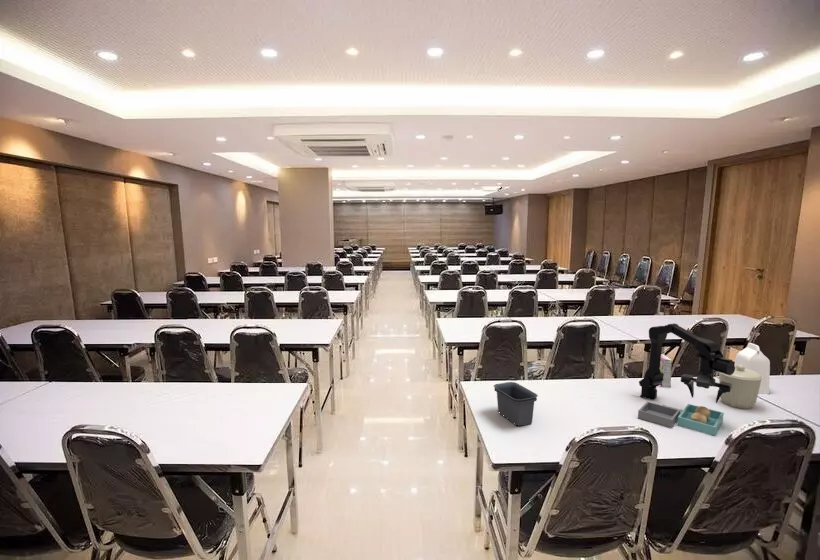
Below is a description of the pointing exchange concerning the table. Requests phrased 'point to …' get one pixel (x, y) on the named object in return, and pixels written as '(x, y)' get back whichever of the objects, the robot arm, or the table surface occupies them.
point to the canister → (741, 387)
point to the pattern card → (674, 408)
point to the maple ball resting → (699, 417)
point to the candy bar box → (666, 370)
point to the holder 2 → (707, 428)
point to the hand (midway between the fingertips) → (704, 400)
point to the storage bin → (515, 402)
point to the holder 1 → (659, 414)
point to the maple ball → (703, 411)
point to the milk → (755, 364)
